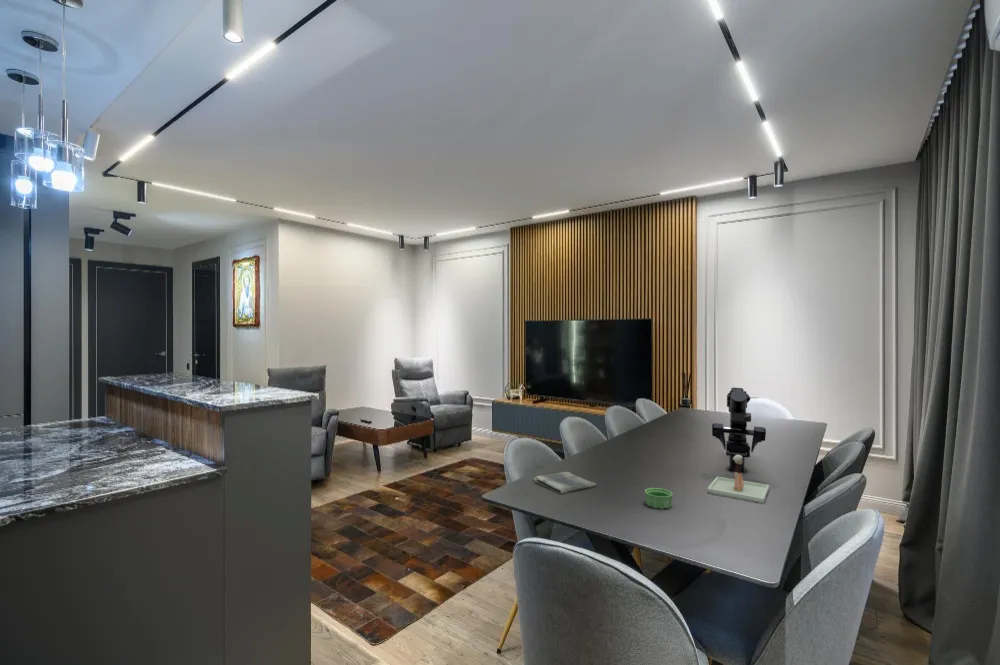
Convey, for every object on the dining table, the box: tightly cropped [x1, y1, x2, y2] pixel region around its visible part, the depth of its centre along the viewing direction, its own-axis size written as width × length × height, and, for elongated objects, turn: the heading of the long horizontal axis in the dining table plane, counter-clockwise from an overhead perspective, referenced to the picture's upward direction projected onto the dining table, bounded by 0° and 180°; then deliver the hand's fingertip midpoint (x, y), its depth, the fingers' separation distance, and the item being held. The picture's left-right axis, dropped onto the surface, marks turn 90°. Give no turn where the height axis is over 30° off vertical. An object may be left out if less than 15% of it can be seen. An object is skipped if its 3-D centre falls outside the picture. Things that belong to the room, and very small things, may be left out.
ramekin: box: [644, 487, 674, 510], centre depth 162 cm, size 9×9×4 cm
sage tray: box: [706, 476, 770, 505], centre depth 176 cm, size 18×18×2 cm
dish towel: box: [532, 471, 597, 495], centre depth 183 cm, size 19×18×3 cm
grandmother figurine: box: [733, 455, 744, 492], centre depth 176 cm, size 8×4×13 cm, turn 160°
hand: (738, 450), depth 183 cm, fingers open, 9 cm apart
